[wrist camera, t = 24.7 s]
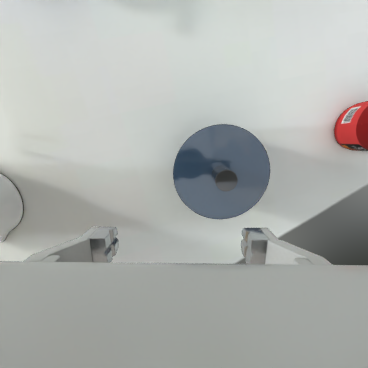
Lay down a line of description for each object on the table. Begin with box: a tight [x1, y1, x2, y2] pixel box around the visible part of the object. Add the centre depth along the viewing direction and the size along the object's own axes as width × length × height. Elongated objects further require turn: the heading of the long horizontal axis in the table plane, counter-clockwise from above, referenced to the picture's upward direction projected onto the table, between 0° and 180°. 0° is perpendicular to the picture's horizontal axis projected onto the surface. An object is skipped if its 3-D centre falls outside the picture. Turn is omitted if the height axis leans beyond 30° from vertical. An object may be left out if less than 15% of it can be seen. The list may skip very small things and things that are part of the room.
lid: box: [173, 124, 270, 219], centre depth 24 cm, size 13×13×5 cm
